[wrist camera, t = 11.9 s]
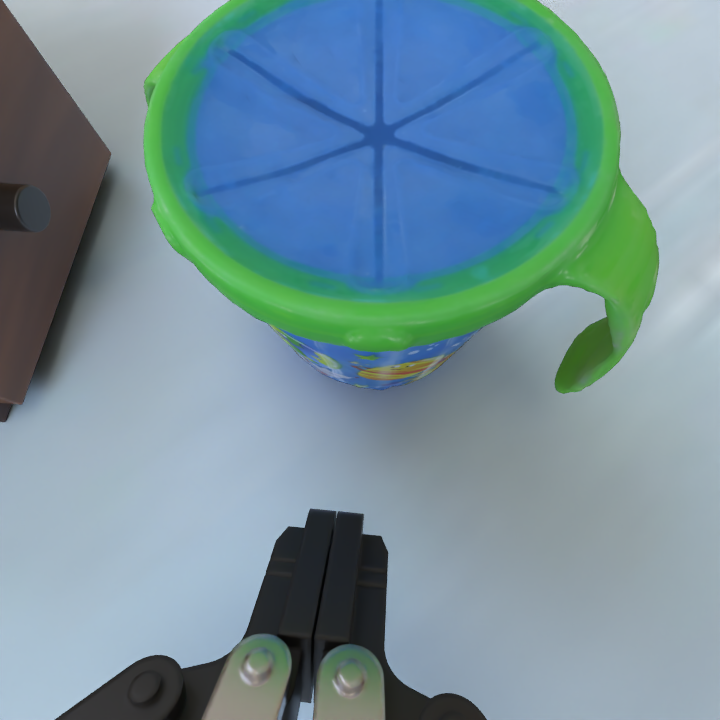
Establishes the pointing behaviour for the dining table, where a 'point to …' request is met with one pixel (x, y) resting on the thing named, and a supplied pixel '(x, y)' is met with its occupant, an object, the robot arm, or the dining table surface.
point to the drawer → (38, 199)
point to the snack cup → (397, 178)
